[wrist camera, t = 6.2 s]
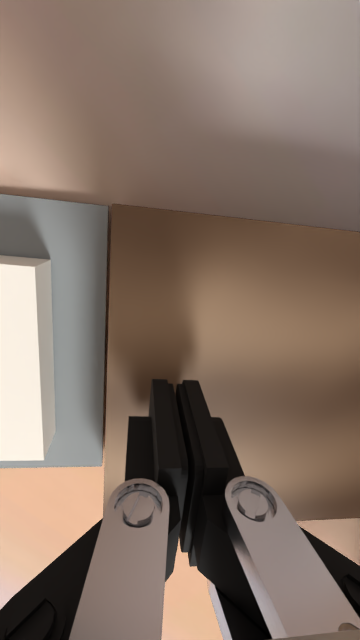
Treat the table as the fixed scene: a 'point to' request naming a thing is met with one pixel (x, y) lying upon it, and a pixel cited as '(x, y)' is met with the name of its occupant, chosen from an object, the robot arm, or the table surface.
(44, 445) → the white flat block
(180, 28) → the table surface
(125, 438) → the brown wooden flat block
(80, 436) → the mat
